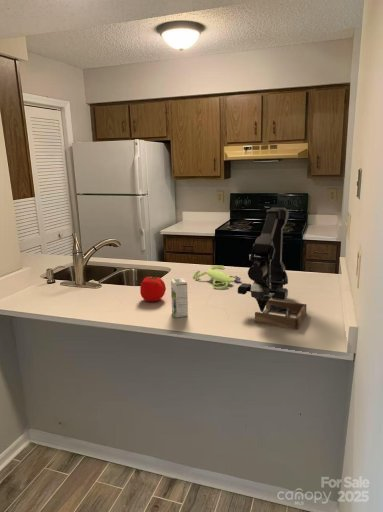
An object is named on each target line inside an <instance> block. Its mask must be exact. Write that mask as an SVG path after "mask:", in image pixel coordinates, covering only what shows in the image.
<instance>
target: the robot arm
mask: <svg viewBox="0 0 383 512" xmlns="http://www.w3.org/2000/svg"><path fill="white" fill-rule="evenodd" d="M265 214H266V215H265V216H266V217H265V221H264V223H263V228H262V231H261V233H260V236H258V237H256V239H255V241H254V243H253V245H252V248H251V253H250V258H249V261H250V262H253V263H252V266H250V267H249V269H248V270H247V276H248V278H249V279H250V280H251V281H253V283H252V284H251V283H244V282H242V283H241V284H240V285H239V286H238V287H237V294H240V295H246V294H247V293H248V292H249V293H250V296H251V298H253V299H255V301H256V302H257V305H258V307H259V310H260V313H263V312H264V311H265V309H266V304H267V301H268V299H271V298H275V300H281V301H284V300H286V298H287V297H288V296H289V290H288V288H286V287H284V286H286V285H288V284H289V278H288V277H289V276H288V274H287V271H286V265H285V264H284V262H283V239H284V237H283V235H284V227H285V226H286V224H287V222H288V219H289V215H290V212H289V210H287V208H286V207H271V208H270V209H266V213H265ZM271 300H272V299H271Z"/></svg>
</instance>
